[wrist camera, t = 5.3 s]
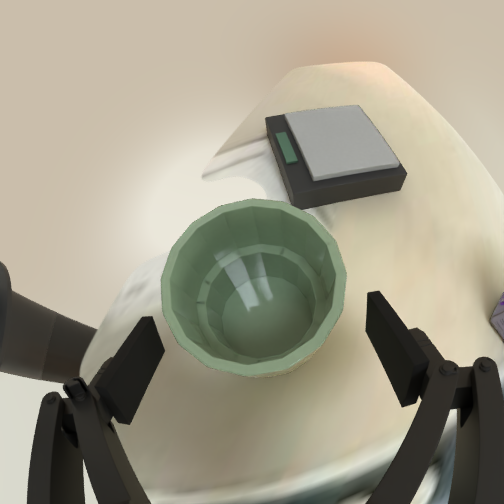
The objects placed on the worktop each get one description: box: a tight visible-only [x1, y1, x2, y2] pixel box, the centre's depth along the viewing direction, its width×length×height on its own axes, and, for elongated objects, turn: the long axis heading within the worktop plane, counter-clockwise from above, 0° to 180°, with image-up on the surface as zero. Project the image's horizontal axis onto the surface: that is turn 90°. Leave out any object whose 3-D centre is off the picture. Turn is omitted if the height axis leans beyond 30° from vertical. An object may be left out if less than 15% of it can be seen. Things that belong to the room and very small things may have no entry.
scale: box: [265, 105, 407, 210], centre depth 30 cm, size 13×13×4 cm
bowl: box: [161, 199, 347, 378], centre depth 19 cm, size 10×10×10 cm
